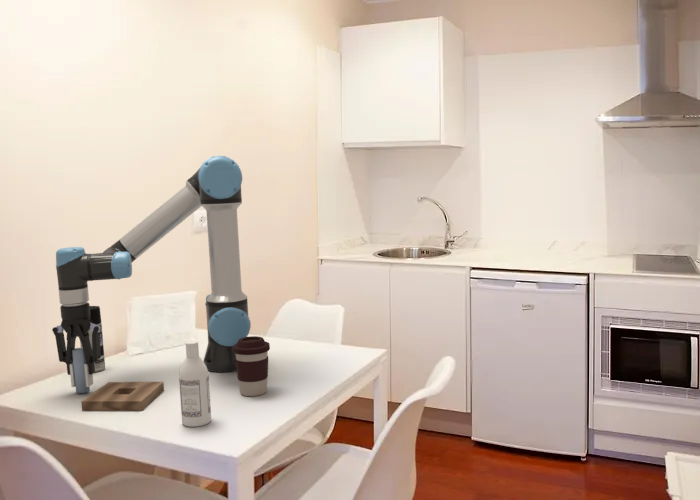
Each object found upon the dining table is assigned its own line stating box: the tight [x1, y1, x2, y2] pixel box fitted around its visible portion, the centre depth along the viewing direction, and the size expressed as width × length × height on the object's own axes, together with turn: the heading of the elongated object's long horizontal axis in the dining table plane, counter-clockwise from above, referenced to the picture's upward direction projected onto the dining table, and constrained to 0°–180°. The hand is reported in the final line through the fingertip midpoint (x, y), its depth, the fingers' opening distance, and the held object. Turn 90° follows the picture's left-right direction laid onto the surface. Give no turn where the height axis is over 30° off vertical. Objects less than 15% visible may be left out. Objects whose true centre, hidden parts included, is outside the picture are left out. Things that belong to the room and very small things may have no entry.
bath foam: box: [178, 340, 212, 428], centre depth 164 cm, size 7×7×20 cm
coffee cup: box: [233, 335, 271, 397], centre depth 185 cm, size 10×10×15 cm
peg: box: [72, 347, 91, 394], centre depth 190 cm, size 4×4×12 cm
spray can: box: [79, 305, 106, 373], centre depth 211 cm, size 7×7×20 cm
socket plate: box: [80, 381, 165, 412], centre depth 183 cm, size 16×16×2 cm
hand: (82, 385), depth 190 cm, fingers closed on peg, 3 cm apart
